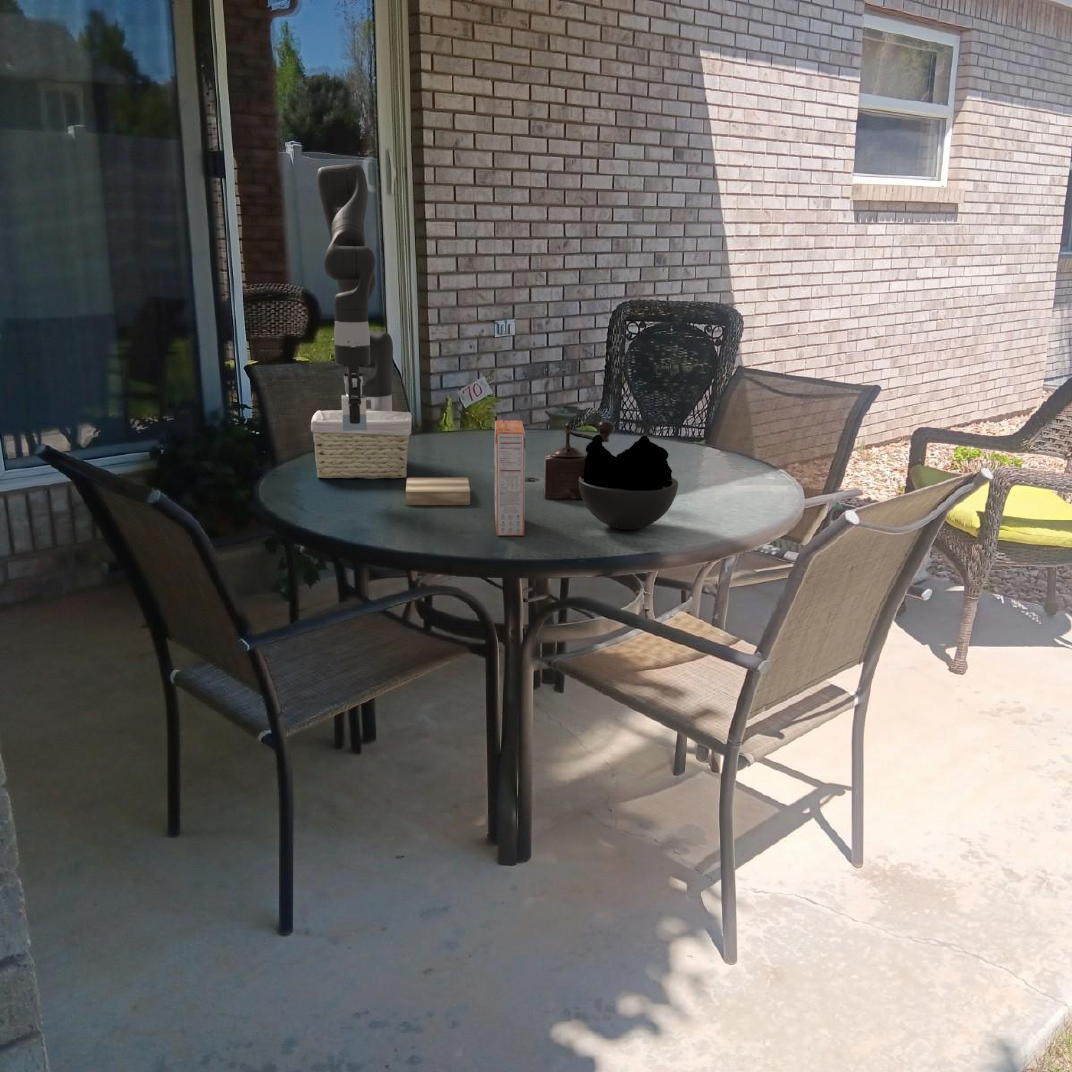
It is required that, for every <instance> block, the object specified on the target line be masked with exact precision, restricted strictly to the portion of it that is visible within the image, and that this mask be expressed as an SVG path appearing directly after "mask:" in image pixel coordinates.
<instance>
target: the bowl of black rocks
mask: <svg viewBox="0 0 1072 1072" xmlns="http://www.w3.org/2000/svg"><path fill="white" fill-rule="evenodd" d="M650 440H651V439H650V438H649V437H648V435H642V436H640V438H639V439H638V440H637V441H634V443H633V444H632V445H631V446H630V447H629V448H627V449H624V450H623V451H621V452H620V453H617V454H616V456H615V455H614V454H612V453H611V452H610V451H609V450H608V449H607V448H606V447H605V446H604V445H603V442H602V437H601V436H600V435H599V434H596V435H594V436H593V439H592V440H591V441H590V442H589V443H588V444H587V445H586V446H585V447H586V448H585V449H584V452H587V455H586V459H585V467H584V475H582V476H580V478H579V489H580V493H581V496H582V499H581V500H582V501H583V503H584V505H585V507H586V508H587V510H588V511H589V512H590V513H591V515H592V516H594V517H595V518H596V519H597V520H599V521H600V522H602V523H603V524H605V525H606V526H609V527H611V528H615V529H617V530H618V529H619V530H627V531H628V530H637V529H643V528H646V527H648V526H650V525H652V524H653V523H655V522H657V521H659V520H660V519H661V518H662V517H663V516H664V515H665V514H666V513H667V512H668V510H670V508H671V506H672V504H673V502H674V501H675V499H676V496H677V492H678V488H679V481H678V480H677V479H675V477H673V476H672V473H673V470H672V468H671V466H670V465H669V463H668V460H667V459H668V458H669V456H670V454H669V453H668V450H666V449H665V448H664V447H662V446H659V445H658V444H657V443H654V442H652V441H650Z"/></svg>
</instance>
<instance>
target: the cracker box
mask: <svg viewBox="0 0 1072 1072" xmlns="http://www.w3.org/2000/svg"><path fill="white" fill-rule="evenodd" d="M493 439H494V440H493V441H494V443H493V444H494V452H493V453H494V458H493V460H494V463H493V464H494V471H493V472H494V519H495V522H494V523H495V534H496V537H524V536H525V513H526V512H525V510H526V509H525V505H526V504H525V499H526V498H525V493H526V491H525V489H526V486H525V484H526V483H525V482H526V480H525V479H526V478H525V477H526V476H525V475H526V432H525V428H524V425H523V421H522V420H509V419H508V420H507V419H501V420H500V419H499V420H494V438H493Z"/></svg>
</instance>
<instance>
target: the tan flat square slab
mask: <svg viewBox="0 0 1072 1072" xmlns="http://www.w3.org/2000/svg"><path fill="white" fill-rule="evenodd" d="M405 486H406V487H405V505H406V506H466V505H467V506H470V505H471V488H470V482H469V477H406V485H405Z"/></svg>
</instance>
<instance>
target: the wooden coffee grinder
mask: <svg viewBox="0 0 1072 1072" xmlns="http://www.w3.org/2000/svg"><path fill="white" fill-rule="evenodd" d="M571 427H572V425H571V423H566V424H565V430H564V433H565V444H564V445H563V446H560V447H558V448H556V449H555V450H545V451H544V469H543V470H544V471H543V488H542V490H543V498H544V499H545V500H565V501H566V500H567V501H569V500H583V499H582V496H581V493H580V489H579V478H580V476H582V475H584V467H585V459H586V455H587V452H586V451H581V450H580V449H578V448H577V447H576V446H575V447H574V446H571V443H570V440H571V439H570V438H571V436H573V437H576V438H581V439H586V440H590V441H592V439H593V437H594V436H592V435H588V434H586V433H578V432H574V431H572V429H571ZM597 428H598V431H599V433H598V435H600V436H601V437H602V443H608V442H610V440H609V437H610V435H611V434H613V433H614V432H615V429H616V427H615V424H613V422H611V421H609V420H605V419H604V420H602V421H600V422H599V423H598V425H597Z"/></svg>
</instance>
